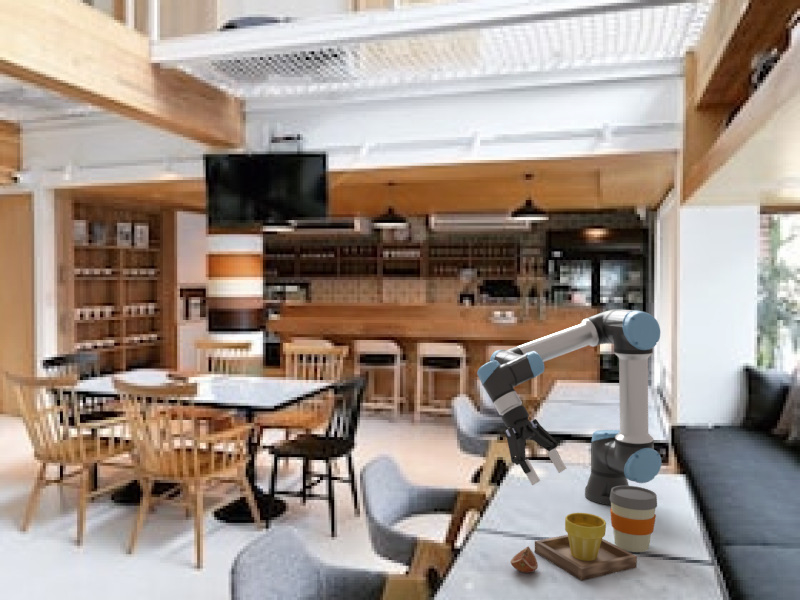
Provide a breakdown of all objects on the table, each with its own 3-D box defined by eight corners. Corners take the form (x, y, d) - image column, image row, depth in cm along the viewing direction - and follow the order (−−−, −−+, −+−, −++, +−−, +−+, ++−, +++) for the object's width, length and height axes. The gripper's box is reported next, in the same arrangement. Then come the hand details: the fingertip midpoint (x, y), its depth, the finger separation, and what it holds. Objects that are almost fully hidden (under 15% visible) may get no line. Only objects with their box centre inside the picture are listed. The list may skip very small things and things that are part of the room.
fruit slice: (533, 580, 161) (534, 560, 161) (506, 575, 163) (507, 555, 163) (540, 567, 169) (540, 548, 168) (514, 562, 171) (514, 543, 171)
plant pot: (606, 566, 167) (608, 528, 167) (564, 561, 170) (566, 524, 169) (602, 550, 178) (603, 514, 177) (563, 546, 180) (564, 510, 179)
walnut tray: (586, 541, 186) (587, 530, 186) (636, 567, 169) (637, 556, 169) (534, 552, 178) (534, 541, 178) (581, 580, 161) (581, 568, 161)
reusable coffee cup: (632, 558, 175) (634, 502, 175) (598, 540, 186) (600, 488, 186) (665, 550, 181) (667, 496, 181) (630, 533, 192) (632, 483, 192)
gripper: (527, 408, 203) (564, 471, 196) (477, 424, 186) (515, 494, 178) (544, 397, 199) (582, 460, 191) (494, 412, 181) (533, 482, 174)
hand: (549, 476), depth 185 cm, fingers open, 13 cm apart
